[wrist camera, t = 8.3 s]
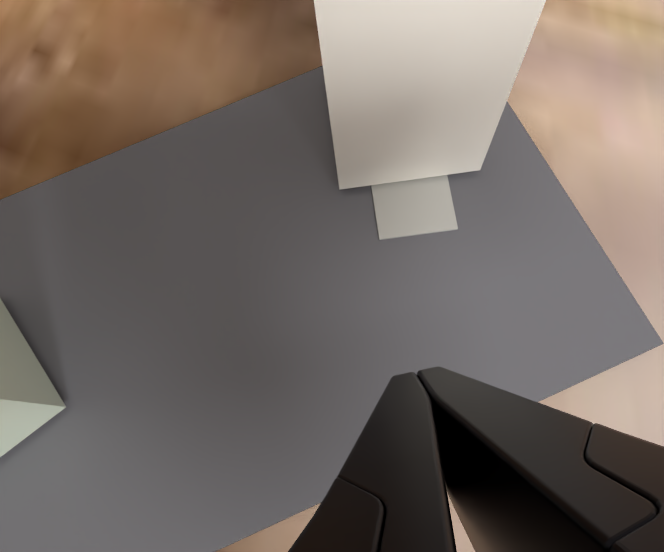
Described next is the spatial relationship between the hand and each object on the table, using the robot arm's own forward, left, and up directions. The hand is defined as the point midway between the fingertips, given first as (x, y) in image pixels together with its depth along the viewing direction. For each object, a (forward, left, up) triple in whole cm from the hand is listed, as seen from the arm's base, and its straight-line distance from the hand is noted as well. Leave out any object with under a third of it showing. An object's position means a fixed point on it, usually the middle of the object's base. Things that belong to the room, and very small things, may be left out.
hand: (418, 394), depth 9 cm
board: (+8, -1, -11) cm, 14 cm away
